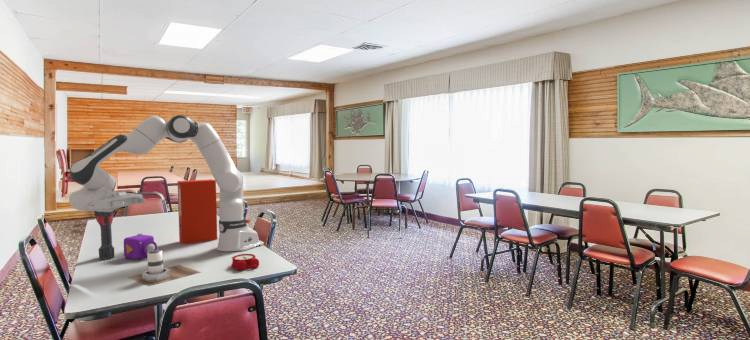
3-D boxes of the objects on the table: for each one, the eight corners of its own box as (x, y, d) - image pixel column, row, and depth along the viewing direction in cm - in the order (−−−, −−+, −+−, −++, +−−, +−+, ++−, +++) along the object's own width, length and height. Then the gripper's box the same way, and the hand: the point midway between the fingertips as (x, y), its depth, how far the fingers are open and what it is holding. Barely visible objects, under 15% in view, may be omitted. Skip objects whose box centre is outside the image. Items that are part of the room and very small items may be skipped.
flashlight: (103, 255, 194) (101, 206, 193) (120, 255, 194) (117, 206, 193) (91, 259, 187) (89, 208, 185) (108, 259, 186) (106, 208, 185)
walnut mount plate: (179, 267, 174) (179, 264, 174) (201, 274, 164) (201, 272, 164) (127, 279, 159) (127, 277, 158) (148, 288, 148) (148, 286, 148)
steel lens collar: (162, 273, 163) (162, 266, 163) (173, 277, 158) (173, 270, 158) (139, 278, 156) (138, 272, 156) (150, 283, 151) (149, 276, 151)
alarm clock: (251, 252, 184) (262, 252, 172) (253, 267, 183) (263, 267, 171) (227, 256, 178) (236, 256, 166) (228, 271, 178) (237, 272, 165)
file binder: (217, 239, 224) (215, 180, 222) (182, 244, 214) (180, 182, 212) (213, 237, 231) (211, 179, 229) (179, 241, 221) (177, 181, 219)
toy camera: (146, 261, 184) (145, 238, 183) (120, 259, 186) (119, 237, 186) (163, 254, 194) (163, 233, 194) (138, 253, 197) (137, 232, 196)
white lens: (162, 274, 161) (161, 249, 160) (165, 278, 157) (163, 251, 156) (147, 277, 158) (145, 251, 157) (150, 281, 154) (148, 254, 153)
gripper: (82, 196, 161) (112, 197, 158) (126, 190, 181) (153, 191, 178) (83, 212, 162) (112, 214, 158) (126, 205, 181) (153, 206, 178)
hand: (134, 202), depth 168 cm, fingers open, 8 cm apart
